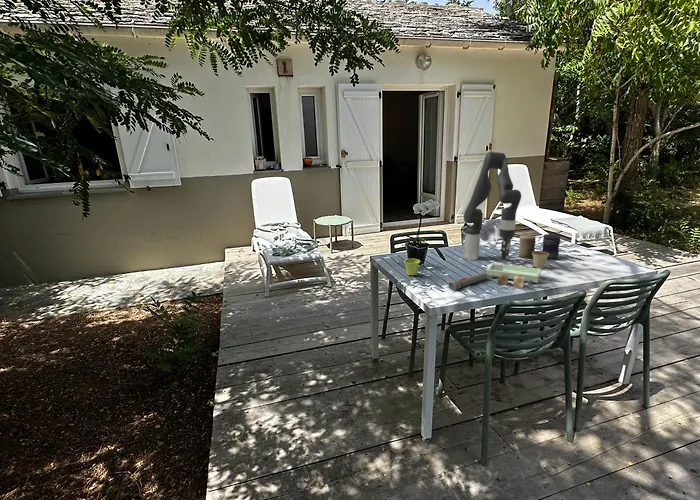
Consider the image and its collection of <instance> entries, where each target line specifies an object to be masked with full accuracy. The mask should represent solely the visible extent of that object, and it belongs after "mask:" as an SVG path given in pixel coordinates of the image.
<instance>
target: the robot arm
mask: <svg viewBox="0 0 700 500" xmlns="http://www.w3.org/2000/svg"><path fill="white" fill-rule="evenodd" d="M508 165H509V164H508V160H507V156H506V154H505V153H504V152H499V151H498V152H497V151H496V152H494V151H489V152H487V153H486V155H485V157H484V160H483V163H482V167H481V170H480V173H479V176H478V179H477V181H476V184H475V186H474V189H473V193H472V196H471V197H470V199H469V202H468V205H467V206H466V208H465V211H464V213H463V220H464V221H463V222H465V224H472V225H470V226H468V227H467V228H465V239H464V245H463V259H464V260H469V261H475V260H476V261H477V260H479V258H480V245H481V243H480V241H481V231H482V227H483V219H484V218H483V215H484V214H483V211H482V209H480V208H478V207H479V206H480V205H481V204H483V203H484V202H485V201H486V199H488V197H489V195H490V193H491V190H492V182H491V180H490V176H489V171H490V170H491V169H493V170H499V171H500V172H499V173H498V175H497V178H496V184H497V187H498V189H499V194H498V195H499V196H498V201H499V202H500V203H501V204H506V205H509V204H510V205H509V206H507V207H504V208H502V209H501V215H500V217H501V218H500V224H499V232H498V233H499V234H498V236H499V237H500V238H503V239H501V245H500V247H501V248H500V253H501V257H500V258H501V260H503V261H505V260H506V259H507V256H509V255H510V249H511V246H512V245H511V243H512V239H513V238H515V235H516V220H517V219H516V217H517V210H518V208H519V206H520V202H521V199H522V192H521V190H519V189H514V184H513V181H512V179H511V176H510V173H509V172H510V171H509V166H508Z"/></svg>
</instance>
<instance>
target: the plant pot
mask: <svg viewBox="0 0 700 500" xmlns="http://www.w3.org/2000/svg"><path fill="white" fill-rule="evenodd" d="M403 262H404V265H405V271H406V275H407V274H408V275H412V276H411V277H414V276H413V275H416V276H418V272H419V265H420V263H421V260H420V259H417V258H407V259H404V261H403ZM408 275H407V276H408Z"/></svg>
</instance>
